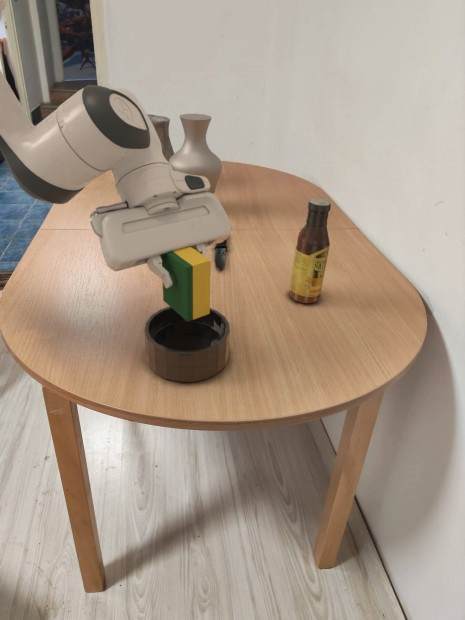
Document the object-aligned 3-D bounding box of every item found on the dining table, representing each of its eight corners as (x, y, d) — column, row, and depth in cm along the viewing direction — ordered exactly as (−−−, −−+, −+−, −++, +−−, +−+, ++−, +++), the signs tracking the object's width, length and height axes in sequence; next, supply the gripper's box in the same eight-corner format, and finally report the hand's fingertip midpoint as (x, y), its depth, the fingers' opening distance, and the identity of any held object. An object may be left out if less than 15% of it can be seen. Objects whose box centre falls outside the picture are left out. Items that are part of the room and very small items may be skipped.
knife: (216, 230, 115) (228, 230, 114) (216, 235, 115) (228, 235, 115) (212, 268, 97) (226, 268, 97) (212, 274, 98) (226, 274, 98)
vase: (202, 223, 121) (203, 124, 107) (159, 211, 126) (155, 116, 113) (229, 208, 132) (234, 116, 118) (188, 197, 137) (188, 108, 124)
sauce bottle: (313, 308, 88) (330, 211, 77) (283, 299, 91) (296, 203, 80) (324, 294, 93) (341, 200, 82) (296, 285, 96) (309, 193, 85)
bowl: (176, 396, 66) (175, 365, 63) (131, 350, 75) (129, 320, 71) (244, 362, 74) (246, 332, 70) (197, 324, 82) (197, 296, 79)
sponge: (187, 322, 66) (186, 267, 61) (163, 300, 71) (160, 248, 66) (209, 313, 68) (210, 260, 63) (184, 293, 73) (184, 242, 68)
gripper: (89, 198, 59) (129, 294, 58) (216, 176, 70) (251, 256, 69) (80, 219, 65) (117, 308, 64) (199, 195, 76) (232, 270, 75)
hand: (188, 281), depth 67 cm, fingers closed on sponge, 4 cm apart
